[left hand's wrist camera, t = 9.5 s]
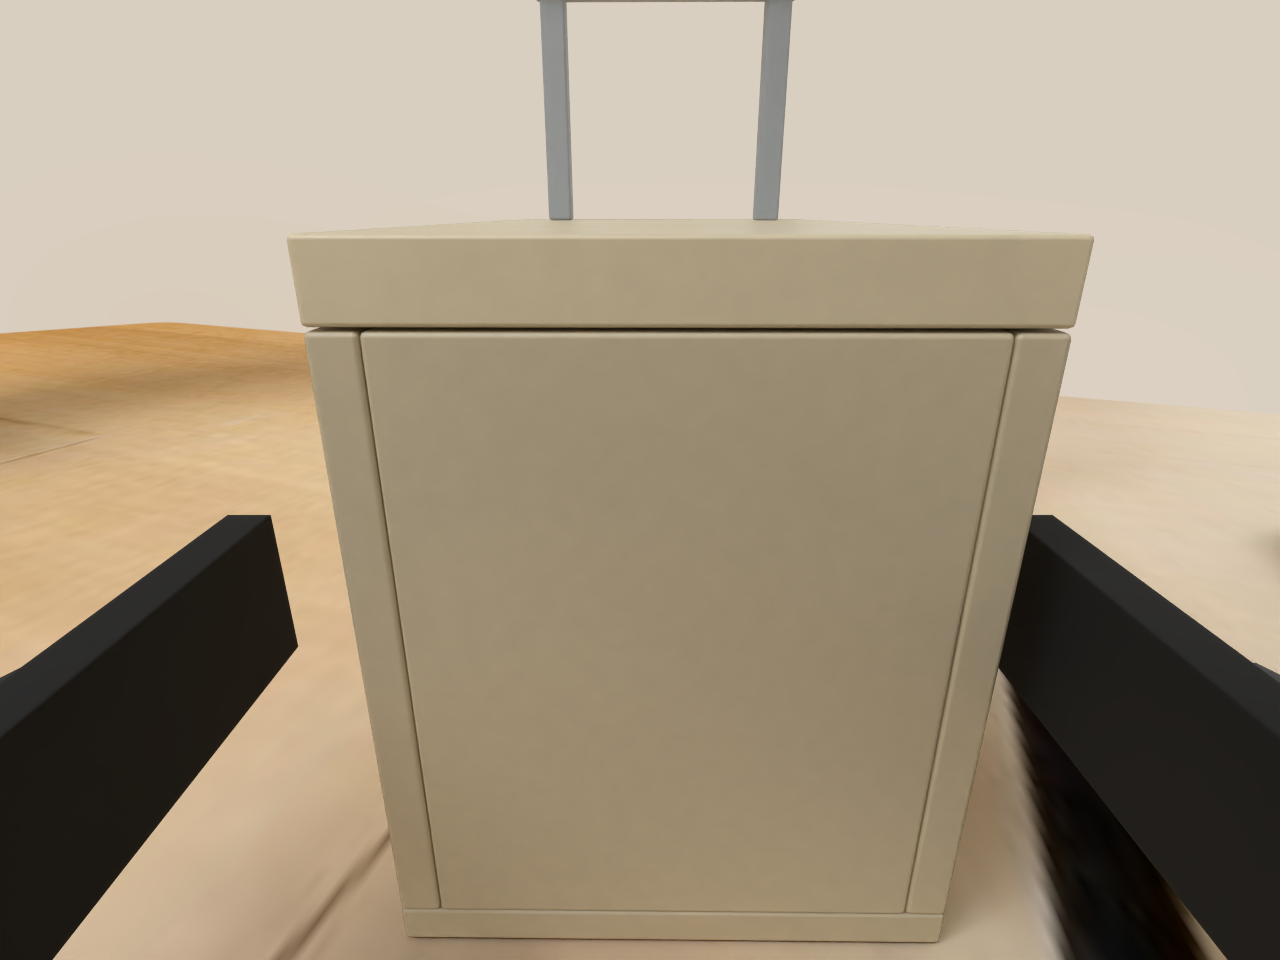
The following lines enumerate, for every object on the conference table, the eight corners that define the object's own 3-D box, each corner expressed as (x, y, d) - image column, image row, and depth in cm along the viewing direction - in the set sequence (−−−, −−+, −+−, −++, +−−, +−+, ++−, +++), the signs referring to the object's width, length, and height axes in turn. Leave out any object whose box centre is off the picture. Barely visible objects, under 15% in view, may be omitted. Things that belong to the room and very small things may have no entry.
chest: (539, 535, 29) (523, 254, 25) (777, 537, 29) (799, 254, 25) (405, 938, 13) (300, 332, 9) (939, 943, 13) (1075, 333, 9)
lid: (526, 252, 26) (511, -29, 22) (795, 252, 25) (817, -30, 22) (299, 328, 9) (117, -725, 6) (1076, 329, 9) (1315, -741, 6)
